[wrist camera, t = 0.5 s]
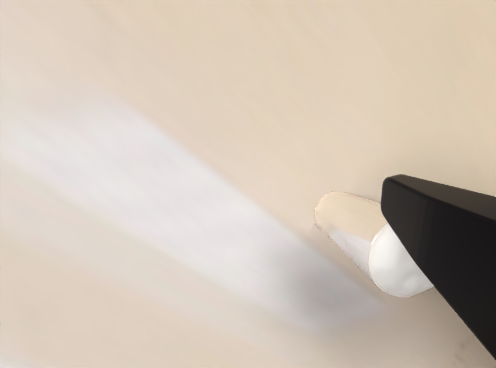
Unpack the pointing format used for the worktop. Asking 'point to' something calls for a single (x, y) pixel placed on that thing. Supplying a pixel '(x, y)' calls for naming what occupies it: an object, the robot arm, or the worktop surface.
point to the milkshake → (370, 243)
